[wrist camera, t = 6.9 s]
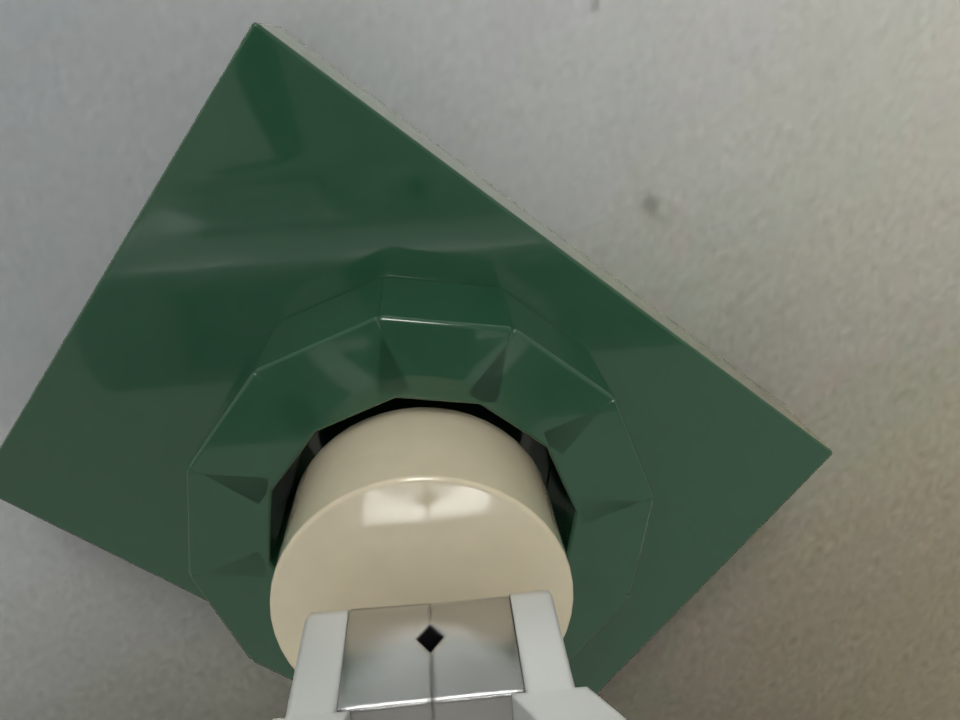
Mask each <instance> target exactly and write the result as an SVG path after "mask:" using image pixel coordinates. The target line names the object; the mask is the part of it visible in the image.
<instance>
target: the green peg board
mask: <svg viewBox="0 0 960 720" xmlns="http://www.w3.org/2000/svg"><path fill="white" fill-rule="evenodd" d="M414 407H436V408H443V409H451V410H456V411H459V412H463V413H467V414H470V415H473V416H475V417H478V418H481V419H483V420H486V421H488V422H489V423H491V424H493V425H495V426H497V427H498V428H500V429H502V430H503V431H504V432H506V433H507V434H508V435H510V436H511V437H513V438H514V439H515V440H516V441H517V442H518V443H519V444H520V445H521V446H522V447H523V448H524V449H525V450H526V451H527V453H528V454H529V455H530V456H531V458H532V459H533V460H534V462H535V463H536V465H537V467H538V469H539V471H540V472H541V474H542V477H543V479H544V482H545V485H546V487H547V490H548V494H549V497H550V501H551V504H552V507H553V511H554V514H555V517H556V521H557V524H558V527H559V531H560V534H561V537H562V541H563V544H564V547H565V551H566V554H567V558H568V561H569V564H570V568H571V573H572V578H573V590H574V600H573V608H572V615H571V618H570V622H569V625H568V629H567V631H566V634H565V636H564V638H563V641H564V645H565V649H566V653H567V657H568V661H569V665H570V669H571V673H572V677H573V681H574V685H575V688H576V687H589V688H590V689H591V690H592V691H593V692H595V693H596V694H597V693H598V692H599V691H600V690H601V689H602V688H603V687H604V686H605V685H606V684H607V683H608V682H609V681H610V680H611V679H612V677H613V676H614V675H615V674H616V673H617V672H618V671H619V670H620V669H621V668H622V667H623V666H624V665H625V664H626V663H627V662H628V661H629V660H630V659H631V658H632V657H633V656H634V655H635V654H636V653H637V652H638V651H639V650H640V649H641V648H642V647H643V646H644V645H645V644H646V643H647V642H648V641H649V640H650V639H651V638H652V637H653V636H654V635H655V634H656V633H657V632H658V631H659V630H660V629H661V628H662V627H663V626H664V625H665V624H666V623H667V622H668V621H669V620H670V619H671V618H672V617H673V616H674V615H675V613H676V612H677V611H678V610H679V609H680V608H681V607H682V606H683V605H684V604H685V603H686V602H687V601H688V600H689V599H690V598H691V597H692V596H693V595H694V594H695V593H696V592H697V591H698V590H699V589H700V588H701V587H702V586H703V585H704V584H705V583H706V582H707V581H708V580H709V579H710V578H711V577H712V576H713V575H714V574H715V573H716V572H717V571H718V570H719V569H720V568H721V567H722V566H723V565H724V564H725V563H726V562H727V561H728V560H729V559H730V558H731V557H732V556H733V555H734V554H735V553H736V552H737V551H738V549H739V548H740V547H741V546H742V545H743V544H744V543H745V542H746V541H747V540H748V539H749V538H750V537H751V536H752V535H753V534H754V533H755V532H756V531H757V530H758V529H759V528H760V527H761V526H762V525H763V524H764V523H765V522H766V521H767V520H768V519H769V518H770V517H771V516H772V515H773V514H774V513H775V512H776V511H777V510H778V509H779V508H780V507H781V506H782V505H783V504H784V503H785V502H786V501H787V500H788V499H789V498H790V497H791V496H792V495H793V494H794V493H795V492H796V491H797V490H798V489H799V488H800V487H801V486H802V484H803V483H804V482H805V481H806V480H807V479H808V478H809V477H810V476H811V475H812V474H813V473H814V472H815V471H816V470H817V469H818V468H819V467H820V466H821V465H822V464H823V463H824V462H825V461H826V460H827V459H828V458H829V457H830V456H831V455H832V451H831V450H830V449H829V448H828V447H827V446H826V445H825V444H824V443H823V442H822V441H821V440H820V439H819V438H818V437H817V436H816V435H815V434H814V433H813V432H812V431H811V430H810V429H809V428H808V427H806V426H805V425H804V424H803V423H802V422H801V421H800V420H799V419H798V418H797V417H796V416H795V415H794V414H793V413H792V412H791V411H790V410H789V409H788V408H787V407H786V406H785V405H783V404H782V403H781V402H779V401H778V400H777V399H775V398H774V397H773V396H771V395H770V394H769V393H767V392H766V391H765V390H763V389H762V388H761V387H759V386H758V385H757V384H755V383H754V382H753V381H751V380H750V379H749V378H747V377H746V376H745V375H743V374H742V373H741V372H739V371H738V370H737V369H735V368H734V367H733V366H731V365H730V364H729V363H727V362H726V361H725V360H723V359H722V358H721V357H719V356H718V355H717V354H715V353H714V352H713V351H711V350H710V349H709V348H707V347H706V346H705V345H703V344H702V343H701V342H699V341H698V340H697V339H695V338H694V337H693V336H691V335H690V334H689V333H687V332H686V331H685V330H683V329H682V328H681V327H679V326H678V325H677V324H675V323H674V322H673V321H671V320H670V319H669V318H667V317H666V316H665V315H663V314H662V313H661V312H659V311H658V310H657V309H655V308H654V307H653V306H651V305H650V304H649V303H647V302H646V301H645V300H643V299H642V298H641V297H639V296H638V295H637V294H635V293H634V292H633V291H631V290H630V289H629V288H627V287H626V286H625V285H623V284H622V283H621V282H619V281H618V280H617V279H615V278H614V277H613V276H611V275H610V274H609V273H607V272H606V271H605V270H603V269H602V268H601V267H599V266H598V265H597V264H595V263H594V262H593V261H591V260H590V259H589V258H587V257H586V256H585V255H583V254H582V253H581V252H579V251H578V250H577V249H575V248H574V247H573V246H571V245H570V244H569V243H567V242H566V241H565V240H563V239H562V238H561V237H559V236H558V235H557V234H555V233H554V232H553V231H551V230H550V229H549V228H547V227H546V226H545V225H543V224H542V223H541V222H539V221H538V220H537V219H535V218H534V217H533V216H531V215H530V214H529V213H527V212H526V211H525V210H523V209H522V208H521V207H519V206H518V205H517V204H515V203H514V202H513V201H511V200H510V199H509V198H508V197H506V196H505V195H504V194H502V193H501V192H500V191H498V190H497V189H496V188H494V187H493V186H492V185H490V184H489V183H488V182H486V181H485V180H484V179H482V178H481V177H480V176H478V175H477V174H476V173H474V172H473V171H472V170H470V169H469V168H468V167H466V166H465V165H464V164H462V163H461V162H460V161H458V160H457V159H456V158H454V157H453V156H452V155H450V154H449V153H448V152H446V151H445V150H444V149H442V148H441V147H440V146H438V145H437V144H436V143H434V142H433V141H432V140H430V139H429V138H428V137H426V136H425V135H424V134H422V133H421V132H420V131H418V130H417V129H416V128H414V127H413V126H412V125H410V124H409V123H408V122H406V121H405V120H404V119H402V118H401V117H400V116H398V115H397V114H396V113H394V112H393V111H392V110H390V109H389V108H388V107H386V106H385V105H384V104H382V103H381V102H380V101H378V100H377V99H376V98H374V97H373V96H372V95H370V94H369V93H368V92H366V91H365V90H364V89H362V88H361V87H360V86H358V85H357V84H356V83H354V82H353V81H352V80H350V79H349V78H348V77H346V76H345V75H344V74H342V73H341V72H340V71H338V70H337V69H336V68H334V67H333V66H332V65H330V64H329V63H328V62H326V61H325V60H324V59H322V58H321V57H320V56H318V55H317V54H316V53H314V52H313V51H312V50H310V49H309V48H308V47H306V46H305V45H304V44H302V43H301V42H300V41H298V40H297V39H296V38H294V37H293V36H292V35H290V34H289V33H288V32H286V31H285V30H284V29H282V28H281V27H278V26H273V25H267V24H262V23H256V22H254V23H253V24H252V25H251V27H250V29H249V30H248V32H247V34H246V35H245V37H244V39H243V40H242V42H241V44H240V45H239V47H238V49H237V50H236V52H235V54H234V55H233V57H232V59H231V60H230V62H229V64H228V65H227V67H226V69H225V71H224V72H223V74H222V76H221V77H220V79H219V81H218V82H217V84H216V86H215V87H214V89H213V91H212V92H211V94H210V96H209V97H208V99H207V101H206V102H205V104H204V106H203V107H202V109H201V111H200V113H199V114H198V116H197V118H196V119H195V121H194V123H193V124H192V126H191V128H190V129H189V131H188V133H187V134H186V136H185V138H184V139H183V141H182V143H181V144H180V146H179V148H178V150H177V151H176V153H175V155H174V156H173V158H172V160H171V161H170V163H169V165H168V166H167V168H166V170H165V171H164V173H163V175H162V176H161V178H160V180H159V181H158V183H157V185H156V186H155V188H154V190H153V192H152V193H151V195H150V197H149V198H148V200H147V202H146V203H145V205H144V207H143V208H142V210H141V212H140V213H139V215H138V217H137V218H136V220H135V222H134V223H133V225H132V227H131V228H130V230H129V232H128V234H127V235H126V237H125V239H124V240H123V242H122V244H121V245H120V247H119V249H118V250H117V252H116V254H115V255H114V257H113V259H112V260H111V262H110V264H109V265H108V267H107V269H106V271H105V272H104V274H103V276H102V277H101V279H100V281H99V282H98V284H97V286H96V287H95V289H94V291H93V292H92V294H91V296H90V297H89V299H88V301H87V302H86V304H85V306H84V307H83V309H82V311H81V313H80V314H79V316H78V318H77V319H76V321H75V323H74V324H73V326H72V328H71V329H70V331H69V333H68V334H67V336H66V338H65V339H64V341H63V343H62V344H61V346H60V348H59V349H58V351H57V353H56V355H55V356H54V358H53V360H52V361H51V363H50V365H49V366H48V368H47V370H46V371H45V373H44V375H43V376H42V378H41V380H40V381H39V383H38V385H37V386H36V388H35V390H34V392H33V393H32V395H31V397H30V398H29V400H28V402H27V403H26V405H25V407H24V408H23V410H22V412H21V413H20V415H19V417H18V418H17V420H16V422H15V423H14V425H13V427H12V428H11V430H10V432H9V434H8V435H7V437H6V439H5V440H4V442H3V444H2V445H1V447H0V499H1V500H3V501H6V502H8V503H10V504H12V505H14V506H16V507H18V508H20V509H22V510H24V511H26V512H28V513H30V514H32V515H34V516H36V517H38V518H40V519H42V520H44V521H46V522H48V523H50V524H52V525H54V526H56V527H58V528H60V529H62V530H64V531H66V532H69V533H71V534H73V535H75V536H77V537H79V538H81V539H83V540H85V541H87V542H89V543H91V544H93V545H95V546H97V547H99V548H101V549H103V550H105V551H107V552H109V553H111V554H113V555H115V556H117V557H119V558H121V559H123V560H125V561H127V562H129V563H132V564H134V565H136V566H138V567H140V568H142V569H144V570H146V571H148V572H150V573H152V574H154V575H156V576H158V577H160V578H162V579H164V580H166V581H168V582H170V583H172V584H174V585H176V586H178V587H180V588H182V589H184V590H186V591H188V592H190V593H192V594H195V595H197V596H199V597H201V598H203V599H205V600H207V601H208V602H209V603H210V605H211V606H212V607H213V609H214V610H215V612H216V613H217V614H218V616H219V617H220V618H221V620H222V621H223V623H224V624H225V625H226V627H227V628H228V629H229V631H230V632H231V634H232V635H233V636H234V638H235V639H236V640H237V642H238V643H239V645H240V646H241V647H242V649H243V650H244V651H245V653H246V654H247V655H248V657H249V658H250V659H253V661H254V662H255V663H258V664H260V665H262V666H264V667H266V668H268V669H270V670H272V671H274V672H276V673H279V674H281V675H283V676H285V677H287V678H289V679H291V680H293V677H294V672H295V670H294V669H293V667H292V666H291V665H290V664H289V662H288V660H287V659H286V657H285V655H284V654H283V652H282V650H281V649H280V646H279V644H278V641H277V639H276V636H275V634H274V630H273V626H272V622H271V617H270V604H269V598H270V588H271V582H272V578H273V574H274V571H275V567H276V563H277V560H278V556H279V552H280V549H281V545H282V541H283V538H284V534H285V531H286V527H287V523H288V520H289V516H290V512H291V509H292V505H293V501H294V498H295V494H296V490H297V487H298V485H299V482H300V480H301V478H302V476H303V473H304V472H305V470H306V469H307V467H308V466H309V464H310V462H311V461H312V459H313V458H314V457H315V456H316V455H317V454H318V452H319V451H320V450H321V449H322V448H323V447H324V446H325V445H326V444H327V443H328V442H330V441H331V440H332V439H333V438H334V437H335V436H337V435H338V434H340V433H341V432H343V431H344V430H346V429H347V428H349V427H350V426H352V425H354V424H356V423H358V422H360V421H362V420H364V419H367V418H369V417H372V416H375V415H378V414H381V413H384V412H388V411H393V410H397V409H404V408H414Z"/></svg>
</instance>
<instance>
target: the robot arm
mask: <svg viewBox="0 0 960 720" xmlns="http://www.w3.org/2000/svg"><path fill="white" fill-rule="evenodd" d="M272 720H627V719H626V718H625V717H623V716H622V715H621V714H620V713H619V712H617V711H616V710H615V709H614V708H613V707H611V706H610V705H609V704H608V703H607V702H605V701H604V700H603V699H602V698H601V697H599V696H598V695H597V694H596V693H595V692H593V691H592V690H591V689H590V688H589V687H576V688H575V685H574V681H573V677H572V673H571V669H570V665H569V661H568V657H567V653H566V649H565V645H564V641H563V637H562V633H561V629H560V625H559V621H558V617H557V613H556V609H555V605H554V601H553V597H552V594H551V593H550V592H549V591H548V590H540V591H532V592H524V593H516V594H509V596H498V597H488V598H479V599H469V600H459V601H450V602H440V603H426V604H412V605H399V606H385V607H372V608H358V609H351V611H350V610H339V611H327V612H314V613H310V614H309V616H308V617H307V619H306V620H305V623H304V628H303V633H302V638H301V643H300V647H299V652H298V657H297V662H296V667H295V672H294V677H293V682H292V687H291V692H290V696H289V701H288V706H287V711H286V716H285V718H276V719H272Z"/></svg>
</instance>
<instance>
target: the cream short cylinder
mask: <svg viewBox="0 0 960 720" xmlns="http://www.w3.org/2000/svg"><path fill="white" fill-rule="evenodd" d="M540 590H548V591H549V592H550V593H551V594H552V597H553V601H554V605H555V609H556V613H557V617H558V621H559V625H560V629H561V633H562V637H563V638H564V636H565V634H566V631H567V629H568V625H569V622H570V618H571V615H572V608H573V600H574V590H573V578H572V573H571V568H570V564H569V561H568V558H567V554H566V551H565V547H564V544H563V541H562V537H561V534H560V531H559V527H558V524H557V521H556V517H555V514H554V511H553V507H552V504H551V501H550V497H549V494H548V490H547V487H546V485H545V482H544V479H543V477H542V474H541V472H540V471H539V469H538V467H537V465H536V463H535V462H534V460H533V459H532V458H531V456H530V455H529V454H528V453H527V451H526V450H525V449H524V448H523V447H522V446H521V445H520V444H519V443H518V442H517V441H516V440H515V439H514V438H513V437H511V436H510V435H508V434H507V433H506V432H504V431H503V430H502V429H500V428H498V427H497V426H495V425H493V424H491V423H489V422H488V421H486V420H483V419H481V418H478V417H475V416H473V415H470V414H467V413H463V412H459V411H456V410H451V409H443V408H436V407H414V408H404V409H397V410H393V411H388V412H384V413H381V414H378V415H375V416H372V417H369V418H367V419H364V420H362V421H360V422H358V423H356V424H354V425H352V426H350V427H349V428H347V429H346V430H344V431H343V432H341V433H340V434H338V435H337V436H335V437H334V438H333V439H332V440H331V441H330V442H328V443H327V444H326V445H325V446H324V447H323V448H322V449H321V450H320V451H319V452H318V454H317V455H316V456H315V457H314V458H313V459H312V461H311V462H310V464H309V466H308V467H307V469H306V470H305V472H304V473H303V476H302V478H301V480H300V482H299V485H298V487H297V490H296V494H295V498H294V501H293V505H292V509H291V512H290V516H289V520H288V523H287V527H286V531H285V534H284V538H283V541H282V545H281V549H280V552H279V556H278V560H277V563H276V567H275V571H274V574H273V578H272V582H271V588H270V598H269V604H270V617H271V622H272V626H273V630H274V634H275V636H276V639H277V641H278V644H279V646H280V649H281V650H282V652H283V654H284V655H285V657H286V659H287V660H288V662H289V664H290V665H291V666H292V667H293V669H294V670H295V667H296V662H297V657H298V652H299V647H300V643H301V638H302V633H303V628H304V623H305V620H306V619H307V617H308V616H309V614H310V613H314V612H327V611H339V610H350V611H351V609H358V608H372V607H385V606H399V605H412V604H426V603H440V602H450V601H459V600H469V599H479V598H488V597H498V596H509V594H516V593H524V592H532V591H540Z"/></svg>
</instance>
